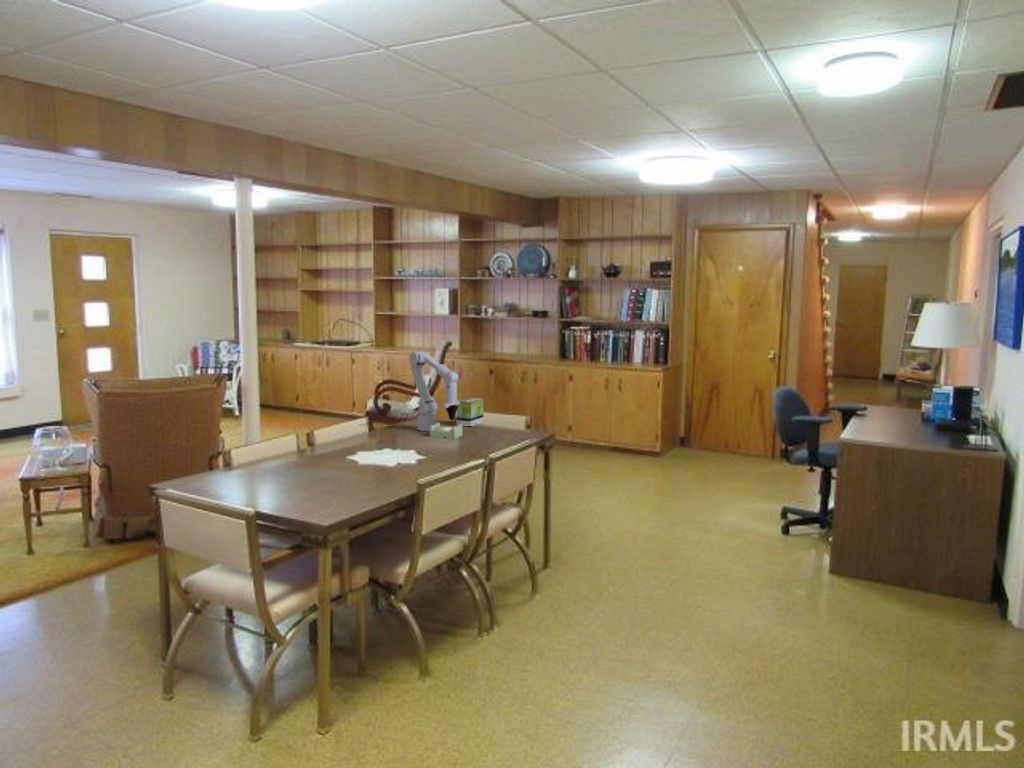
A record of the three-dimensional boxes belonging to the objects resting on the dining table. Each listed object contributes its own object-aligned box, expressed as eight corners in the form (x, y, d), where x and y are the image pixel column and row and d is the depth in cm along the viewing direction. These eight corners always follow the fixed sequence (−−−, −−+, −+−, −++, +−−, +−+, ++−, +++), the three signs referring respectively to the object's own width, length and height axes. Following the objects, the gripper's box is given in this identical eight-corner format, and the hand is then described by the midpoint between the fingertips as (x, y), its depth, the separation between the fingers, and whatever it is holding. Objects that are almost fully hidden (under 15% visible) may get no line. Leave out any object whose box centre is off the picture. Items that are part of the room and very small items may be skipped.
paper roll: (438, 424, 388) (440, 432, 390) (434, 429, 384) (436, 437, 386) (456, 425, 384) (457, 433, 386) (452, 431, 380) (454, 438, 382)
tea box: (471, 427, 408) (471, 401, 406) (456, 426, 413) (455, 400, 411) (484, 423, 422) (483, 397, 420) (469, 421, 426) (468, 396, 424)
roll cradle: (429, 436, 384) (429, 424, 383) (438, 433, 392) (437, 421, 391) (454, 438, 378) (454, 426, 377) (462, 435, 386) (462, 423, 385)
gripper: (451, 396, 380) (452, 422, 382) (464, 393, 394) (464, 417, 395) (439, 396, 383) (440, 421, 385) (453, 392, 396) (453, 416, 398)
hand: (451, 419), depth 390 cm, fingers closed
